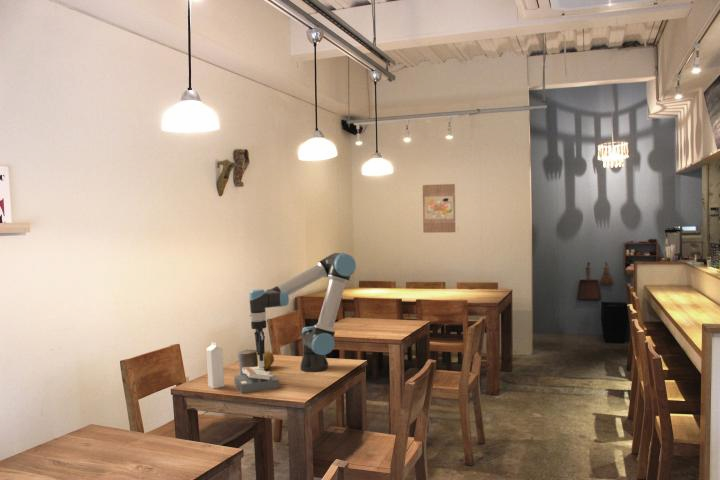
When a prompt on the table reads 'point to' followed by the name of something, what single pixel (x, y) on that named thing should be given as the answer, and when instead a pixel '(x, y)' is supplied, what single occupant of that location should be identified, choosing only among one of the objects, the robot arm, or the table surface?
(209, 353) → the milk
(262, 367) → the rocker
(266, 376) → the white flat box
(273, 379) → the grey tray
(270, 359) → the potato
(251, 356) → the pillar candle
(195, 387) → the table surface
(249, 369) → the rocker
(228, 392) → the table surface
